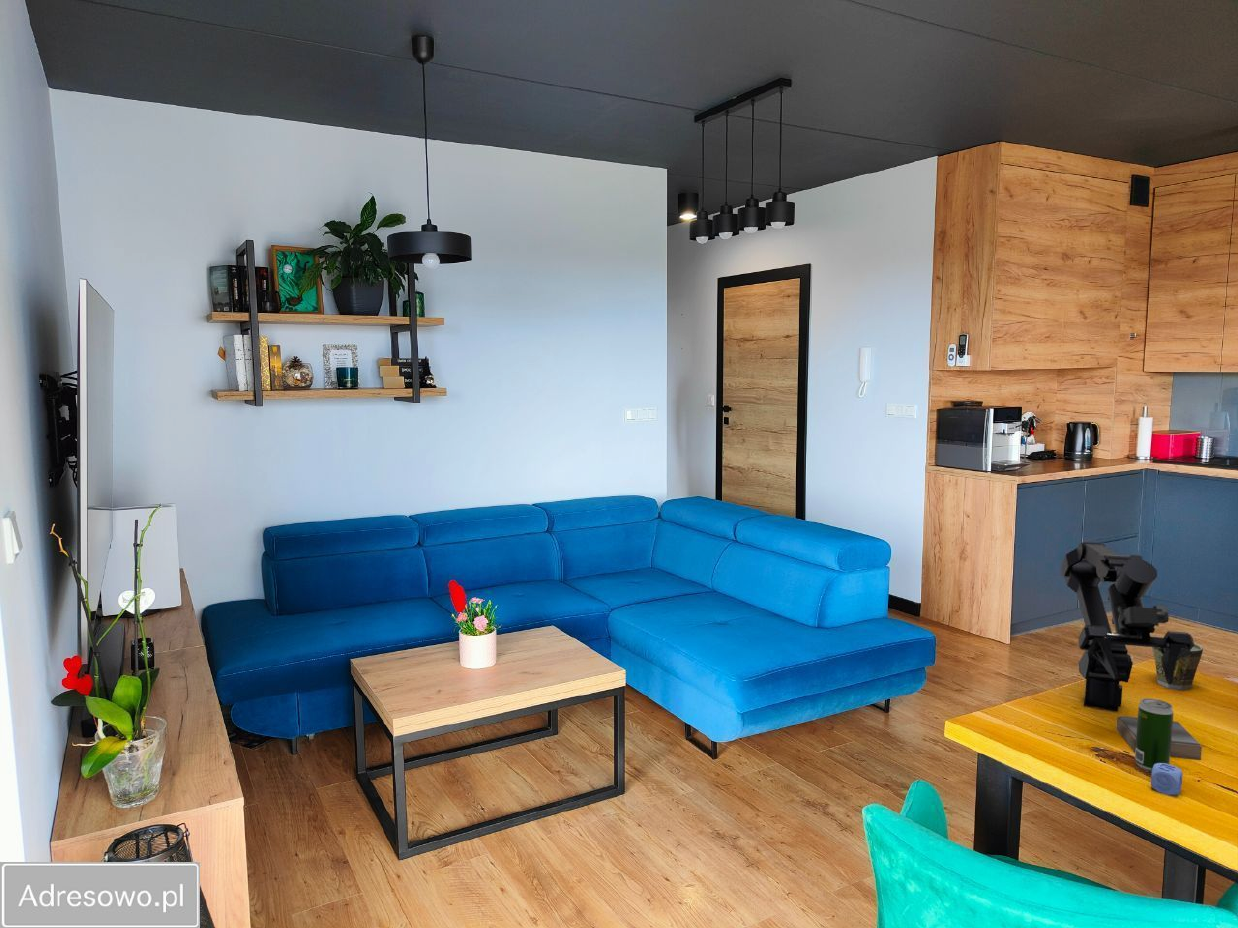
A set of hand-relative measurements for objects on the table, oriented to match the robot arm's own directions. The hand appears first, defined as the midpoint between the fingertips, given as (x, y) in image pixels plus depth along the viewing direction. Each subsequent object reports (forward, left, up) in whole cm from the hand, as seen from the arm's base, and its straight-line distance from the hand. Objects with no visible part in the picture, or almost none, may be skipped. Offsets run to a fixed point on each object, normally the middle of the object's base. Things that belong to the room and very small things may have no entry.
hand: (1142, 681), depth 156 cm
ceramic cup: (+7, +44, -14) cm, 46 cm away
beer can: (+2, -7, -14) cm, 16 cm away
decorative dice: (+4, -16, -14) cm, 22 cm away
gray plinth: (+3, +5, -13) cm, 15 cm away
